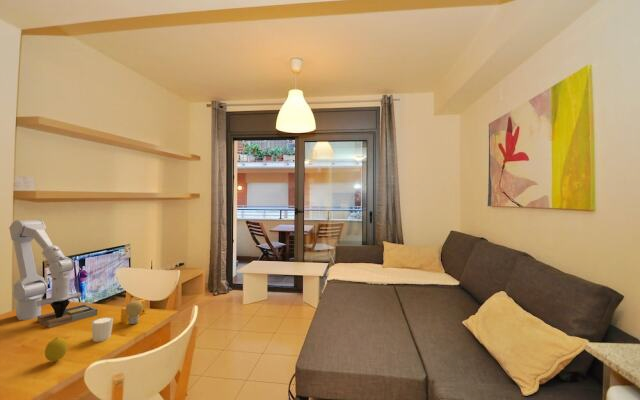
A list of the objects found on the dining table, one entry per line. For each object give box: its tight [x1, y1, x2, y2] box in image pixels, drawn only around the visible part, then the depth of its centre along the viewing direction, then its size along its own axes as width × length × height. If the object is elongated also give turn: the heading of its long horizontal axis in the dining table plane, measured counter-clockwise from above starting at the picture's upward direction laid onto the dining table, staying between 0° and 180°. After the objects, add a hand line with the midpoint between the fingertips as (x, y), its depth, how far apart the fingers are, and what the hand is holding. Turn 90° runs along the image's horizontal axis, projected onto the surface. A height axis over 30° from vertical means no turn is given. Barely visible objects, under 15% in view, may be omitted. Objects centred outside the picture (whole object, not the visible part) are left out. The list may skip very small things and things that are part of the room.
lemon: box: [44, 337, 68, 363], centre depth 95 cm, size 6×6×8 cm
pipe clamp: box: [120, 299, 147, 324], centre depth 132 cm, size 12×4×6 cm, turn 174°
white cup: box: [91, 316, 114, 343], centre depth 112 cm, size 7×7×7 cm
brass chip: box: [67, 309, 80, 316], centre depth 129 cm, size 4×4×2 cm
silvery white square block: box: [78, 307, 90, 313], centre depth 132 cm, size 4×4×2 cm
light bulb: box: [125, 299, 143, 325], centre depth 126 cm, size 6×6×10 cm
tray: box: [63, 303, 98, 322], centre depth 131 cm, size 12×10×2 cm
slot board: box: [36, 311, 96, 329], centre depth 127 cm, size 12×17×3 cm
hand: (59, 318), depth 125 cm, fingers closed
